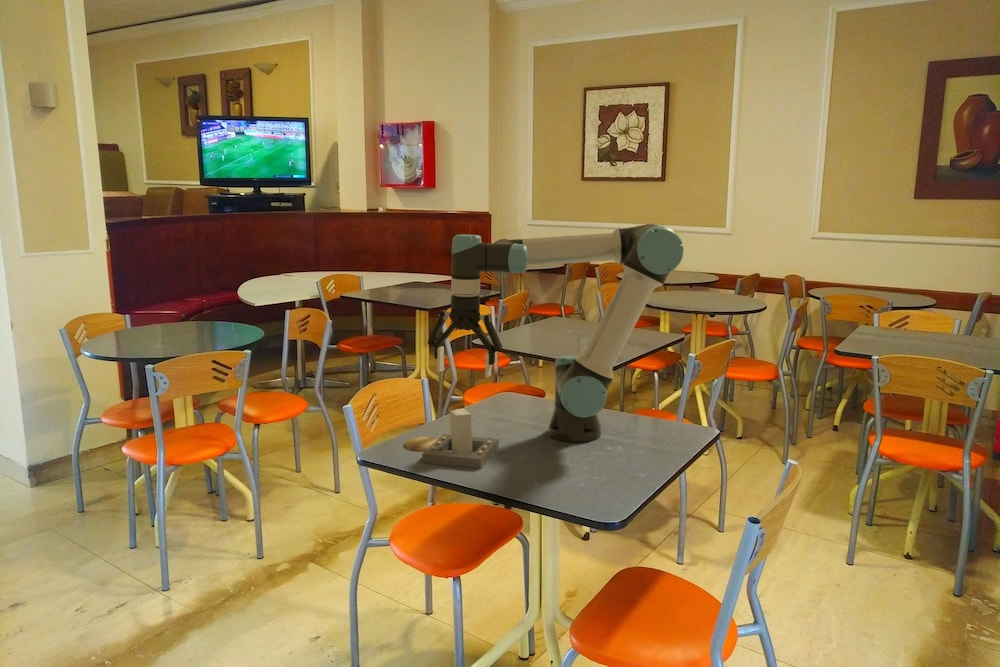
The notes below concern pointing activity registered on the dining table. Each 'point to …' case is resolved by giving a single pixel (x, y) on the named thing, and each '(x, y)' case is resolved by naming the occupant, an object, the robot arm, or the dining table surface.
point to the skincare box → (461, 431)
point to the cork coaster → (420, 443)
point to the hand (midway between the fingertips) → (464, 373)
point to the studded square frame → (476, 460)
